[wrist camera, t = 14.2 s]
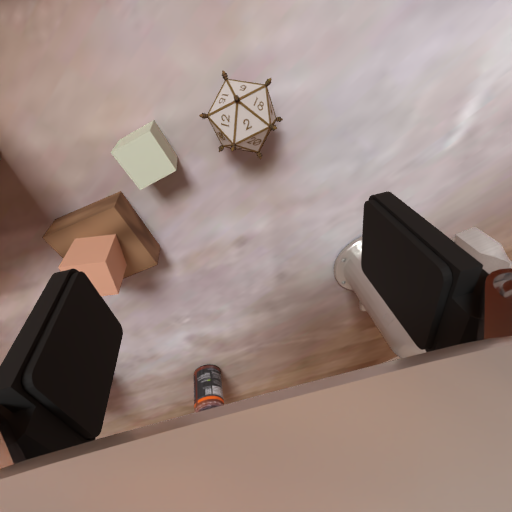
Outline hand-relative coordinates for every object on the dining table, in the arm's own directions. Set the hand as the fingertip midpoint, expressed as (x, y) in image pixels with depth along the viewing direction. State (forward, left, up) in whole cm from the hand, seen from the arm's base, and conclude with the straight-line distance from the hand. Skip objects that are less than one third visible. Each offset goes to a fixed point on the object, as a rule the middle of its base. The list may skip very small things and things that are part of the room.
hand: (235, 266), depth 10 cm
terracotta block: (-14, +18, -28) cm, 36 cm away
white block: (-34, -42, -33) cm, 63 cm away
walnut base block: (-14, +18, -33) cm, 40 cm away
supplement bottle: (-53, +14, -32) cm, 64 cm away
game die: (-2, -4, -33) cm, 33 cm away
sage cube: (-4, +8, -32) cm, 34 cm away
